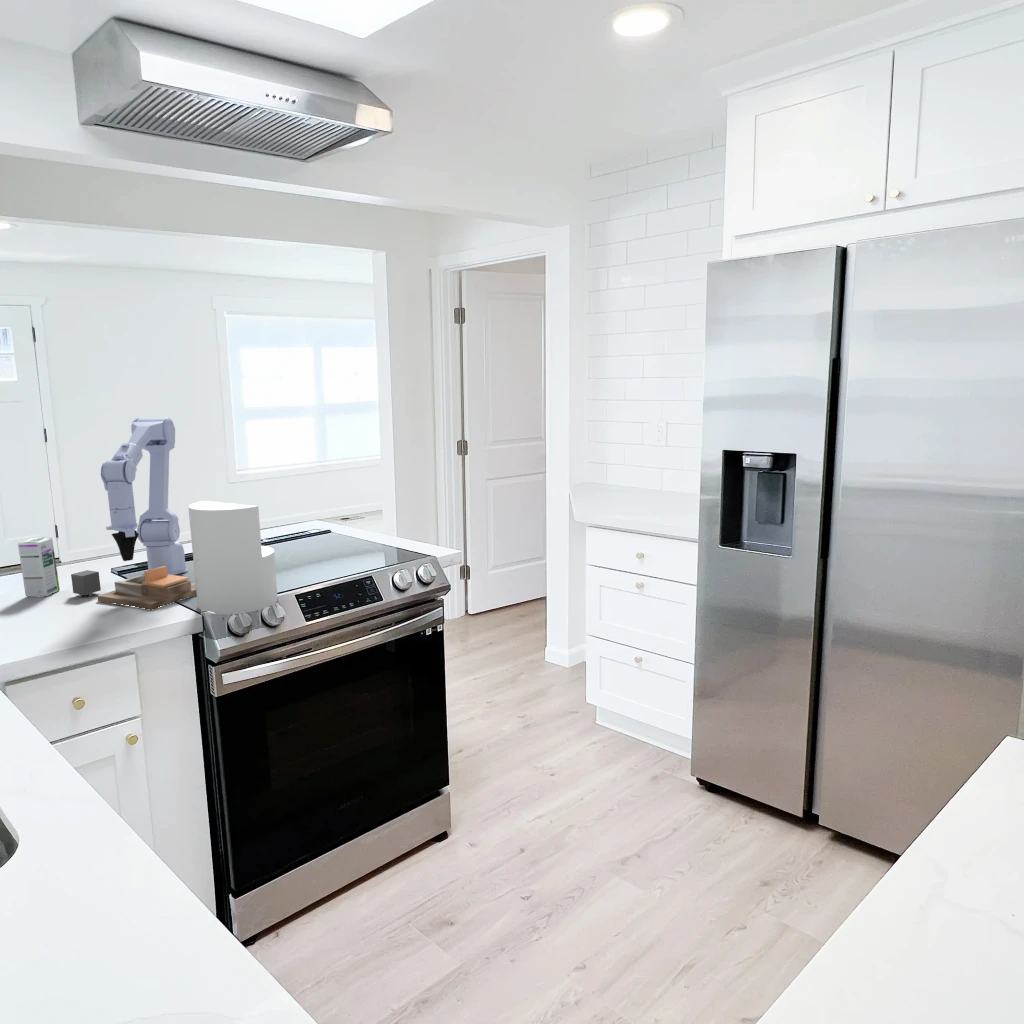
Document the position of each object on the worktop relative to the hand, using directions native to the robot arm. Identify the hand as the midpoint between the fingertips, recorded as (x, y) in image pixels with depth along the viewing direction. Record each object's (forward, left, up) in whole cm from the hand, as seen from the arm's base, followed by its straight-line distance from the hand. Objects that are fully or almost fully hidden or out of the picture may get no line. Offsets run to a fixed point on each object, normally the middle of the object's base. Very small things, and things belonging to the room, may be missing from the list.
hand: (127, 560), depth 199 cm
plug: (+4, -13, -9) cm, 16 cm away
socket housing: (-2, +6, -9) cm, 11 cm away
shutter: (-2, +11, -5) cm, 12 cm away
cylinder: (-6, +31, -10) cm, 32 cm away
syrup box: (+8, -23, -10) cm, 27 cm away
